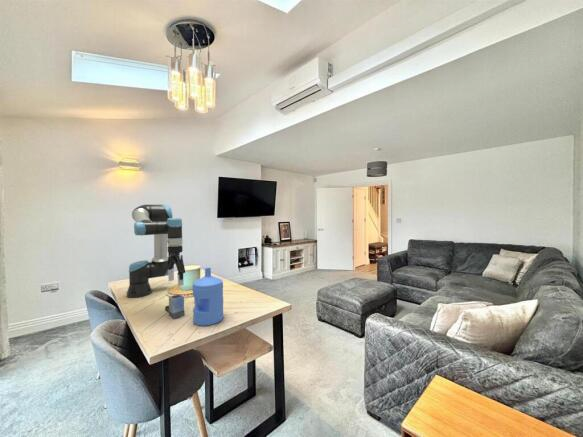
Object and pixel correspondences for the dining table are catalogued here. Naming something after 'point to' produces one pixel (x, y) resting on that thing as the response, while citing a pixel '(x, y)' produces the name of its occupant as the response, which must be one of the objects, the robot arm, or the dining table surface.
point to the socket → (176, 303)
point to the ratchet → (175, 315)
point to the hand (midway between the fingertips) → (175, 283)
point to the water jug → (208, 300)
